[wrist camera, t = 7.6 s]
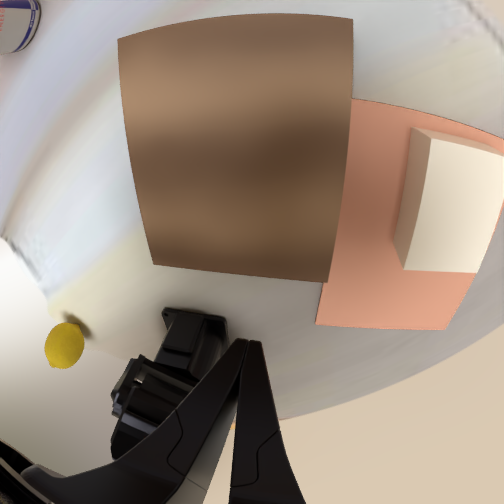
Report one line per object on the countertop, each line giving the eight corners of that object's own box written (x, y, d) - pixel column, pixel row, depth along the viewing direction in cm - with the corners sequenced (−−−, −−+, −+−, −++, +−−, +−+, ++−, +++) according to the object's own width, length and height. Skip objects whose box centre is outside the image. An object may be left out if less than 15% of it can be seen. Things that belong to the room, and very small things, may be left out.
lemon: (99, 340, 35) (74, 383, 28) (76, 334, 36) (52, 373, 30) (80, 313, 32) (50, 358, 25) (57, 309, 33) (29, 348, 27)
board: (325, 244, 19) (327, 282, 16) (176, 232, 21) (153, 264, 18) (341, 32, 11) (352, 19, 8) (154, 42, 13) (117, 39, 10)
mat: (443, 326, 22) (444, 329, 21) (315, 321, 24) (315, 324, 23) (515, 144, 11) (518, 146, 11) (345, 97, 13) (346, 98, 13)
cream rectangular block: (403, 269, 15) (392, 242, 18) (477, 273, 14) (461, 247, 16) (431, 138, 11) (411, 126, 13) (512, 159, 9) (487, 144, 12)
